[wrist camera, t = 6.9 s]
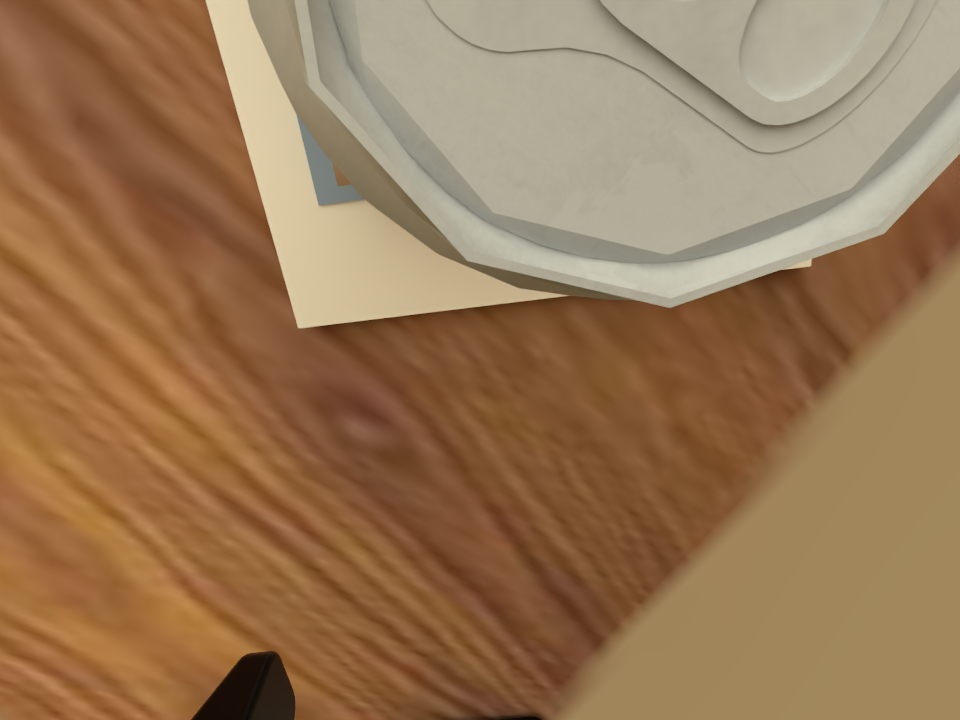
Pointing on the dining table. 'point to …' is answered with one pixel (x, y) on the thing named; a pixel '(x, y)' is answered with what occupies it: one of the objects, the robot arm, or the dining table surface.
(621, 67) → the beer can
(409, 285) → the white flat square slab
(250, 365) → the dining table surface
